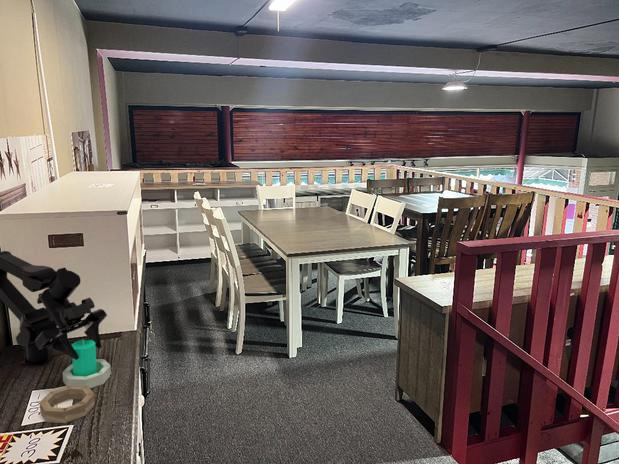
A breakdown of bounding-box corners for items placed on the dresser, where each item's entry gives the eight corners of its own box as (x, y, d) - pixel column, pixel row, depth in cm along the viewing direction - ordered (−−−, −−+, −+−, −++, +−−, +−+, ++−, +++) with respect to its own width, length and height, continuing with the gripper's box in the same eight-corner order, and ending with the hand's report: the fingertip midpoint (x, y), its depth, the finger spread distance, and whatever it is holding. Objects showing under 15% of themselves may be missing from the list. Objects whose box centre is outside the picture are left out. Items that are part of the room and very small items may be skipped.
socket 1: (56, 388, 119) (55, 378, 118) (77, 367, 130) (77, 358, 129) (98, 390, 119) (97, 380, 118) (115, 369, 130) (115, 359, 129)
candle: (94, 383, 122) (92, 343, 119) (70, 385, 121) (67, 344, 118) (99, 372, 128) (97, 333, 125) (76, 374, 126) (74, 334, 124)
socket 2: (32, 421, 105) (31, 410, 105) (58, 395, 116) (57, 384, 115) (79, 423, 105) (78, 412, 105) (100, 396, 116) (100, 386, 116)
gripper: (38, 302, 113) (71, 353, 110) (101, 282, 129) (130, 326, 127) (21, 324, 117) (52, 373, 115) (83, 302, 134) (111, 345, 132)
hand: (89, 353), depth 122 cm, fingers open, 7 cm apart
